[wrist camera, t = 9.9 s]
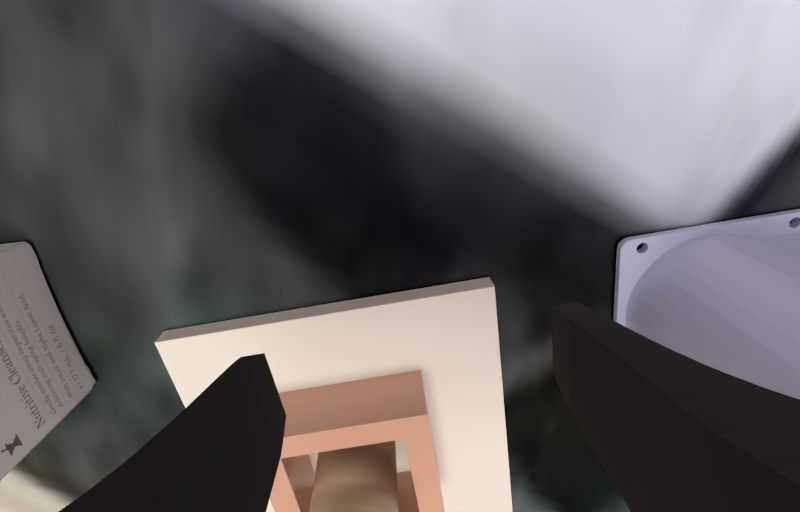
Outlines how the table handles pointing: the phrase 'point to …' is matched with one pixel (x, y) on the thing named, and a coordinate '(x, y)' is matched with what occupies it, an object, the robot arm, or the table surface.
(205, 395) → the robot arm
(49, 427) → the skincare box
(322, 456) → the maple peg
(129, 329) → the table surface
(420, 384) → the socket board
